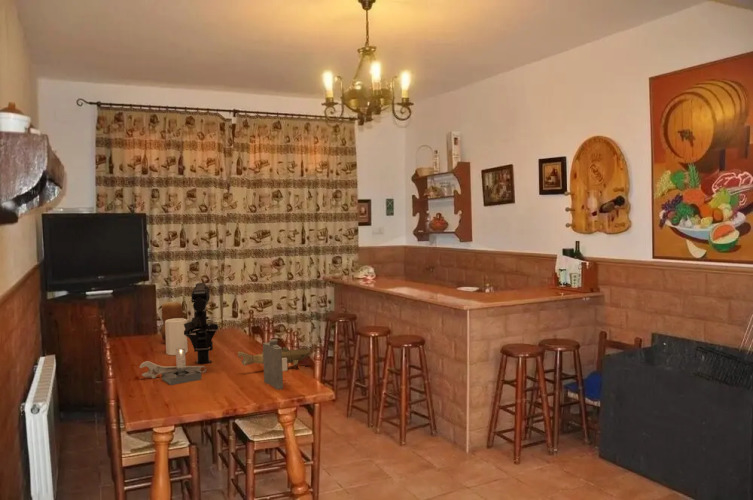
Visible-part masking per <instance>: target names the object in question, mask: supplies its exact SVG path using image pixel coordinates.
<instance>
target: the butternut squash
mask: <svg viewBox="0 0 753 500" xmlns="http://www.w3.org/2000/svg"><path fill="white" fill-rule="evenodd" d="M183 316H184V313H183V307H182V304H181V303H180V302H179V301H165V302H163V304H162V305H161V320H162V322H163V325H162V327H161V337H162V340H163V341H165V342H166V334H165V321H166V320H168V319H175V318H183V319H184V317H183Z"/></svg>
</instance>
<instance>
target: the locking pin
mask: <svg viewBox="0 0 753 500" xmlns="http://www.w3.org/2000/svg"><path fill="white" fill-rule="evenodd" d="M175 361H176V363H175V364H176V366H177V375H183V374H186V366H187V365H186V353H185V349H184V348H180V349H176V355H175Z"/></svg>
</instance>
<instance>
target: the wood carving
mask: <svg viewBox="0 0 753 500" xmlns="http://www.w3.org/2000/svg"><path fill="white" fill-rule="evenodd" d="M281 348H282V372H286V371H288V364H290V363H293V366H294V367H295V366H298V364H299V362H300V361H301V360H304V359H305V358H306V357H308V356H309V355H310V354H311V351H310V350H309V349H302V348H301V349H298V348H297V349H289V348H288V347H287V346H282V347H281ZM237 356H238V358H239V359H240V361H241V364H242V365H243V366H247V365H252V364H261V365H264V362H263V350H262V351H261V353H259V354H256V355H254V354H250V353H249V354H248V353H246V352H245V351H238V352H237ZM241 357H242V358H241Z"/></svg>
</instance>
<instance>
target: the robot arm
mask: <svg viewBox="0 0 753 500" xmlns="http://www.w3.org/2000/svg"><path fill="white" fill-rule="evenodd" d="M210 293H211V292H210V288H209V287H208V286H207V284H206V283H204V282H202V283H201V282H200V283H199V282H198V283H195V287H194V288H193V289H192V292H191V301H190V302H191V303H193V305H192V308H193V316H194V317H192V319H191V320H190V321H187V322H186V323H185V324H184V327H185V330H184V335H186V336H187V338H188V339H189V340H190V342H191V345H192V348H193V351H194V352H195V353H197V355H196V356H197V360H195V361H194V362H195V363H197V364H199V365H203V364H208V363H212V360H210V351H213V350H214V346H213V338H214V336H215V335H216V333H217V331H218V330H219V325H218V324H217V323H208V320H209V316H207V315H208V314H207V305H208V304H209V303H210V302H209V301H210V298H211V295H210Z"/></svg>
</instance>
